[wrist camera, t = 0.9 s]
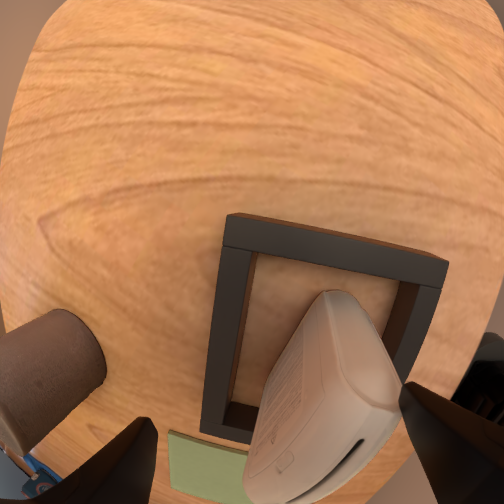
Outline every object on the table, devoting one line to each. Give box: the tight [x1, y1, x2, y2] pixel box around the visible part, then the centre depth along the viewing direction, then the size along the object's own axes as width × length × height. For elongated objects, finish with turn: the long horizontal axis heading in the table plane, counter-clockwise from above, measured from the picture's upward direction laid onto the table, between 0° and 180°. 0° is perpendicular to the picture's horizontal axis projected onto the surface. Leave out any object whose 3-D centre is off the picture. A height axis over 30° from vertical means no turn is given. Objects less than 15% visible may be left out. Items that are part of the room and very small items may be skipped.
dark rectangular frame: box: [199, 213, 449, 445], centre depth 18 cm, size 14×18×3 cm
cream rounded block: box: [242, 290, 402, 504], centre depth 14 cm, size 10×4×12 cm, turn 156°
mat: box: [168, 430, 254, 504], centre depth 24 cm, size 18×14×1 cm
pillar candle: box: [0, 309, 106, 457], centre depth 17 cm, size 10×10×15 cm
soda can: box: [21, 469, 57, 499], centre depth 33 cm, size 7×7×12 cm
